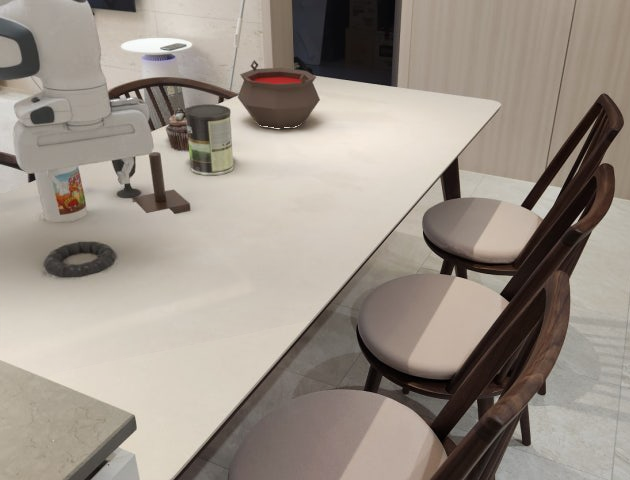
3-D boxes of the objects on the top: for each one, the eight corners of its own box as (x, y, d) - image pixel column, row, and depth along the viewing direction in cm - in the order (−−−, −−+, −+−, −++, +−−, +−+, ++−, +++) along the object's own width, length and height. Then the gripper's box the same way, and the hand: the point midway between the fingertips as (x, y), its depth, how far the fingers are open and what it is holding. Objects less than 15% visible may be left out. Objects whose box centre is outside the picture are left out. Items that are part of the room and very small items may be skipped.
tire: (55, 290, 102) (51, 275, 100) (39, 262, 110) (36, 248, 108) (125, 273, 108) (123, 258, 106) (106, 247, 115) (103, 233, 114)
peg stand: (147, 219, 127) (139, 164, 121) (132, 203, 133) (124, 150, 127) (190, 210, 131) (184, 156, 126) (174, 195, 138) (168, 144, 132)
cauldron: (336, 124, 190) (337, 67, 182) (275, 139, 175) (273, 79, 166) (283, 107, 204) (281, 54, 196) (222, 121, 188) (217, 63, 180)
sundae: (106, 193, 137) (94, 124, 130) (134, 185, 142) (123, 118, 134) (122, 202, 134) (111, 132, 126) (150, 193, 138) (141, 125, 131)
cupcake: (197, 138, 173) (193, 101, 168) (211, 148, 166) (207, 110, 161) (162, 143, 168) (157, 105, 163) (175, 153, 161) (170, 114, 156)
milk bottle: (45, 231, 120) (21, 126, 110) (45, 215, 126) (22, 115, 116) (89, 225, 123) (69, 123, 113) (87, 210, 129) (68, 112, 119)
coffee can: (189, 176, 148) (183, 116, 141) (191, 161, 157) (185, 104, 150) (234, 175, 150) (230, 115, 143) (233, 160, 159) (230, 103, 152)
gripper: (140, 91, 104) (151, 171, 111) (1, 106, 93) (23, 193, 100) (153, 99, 100) (164, 182, 107) (9, 116, 89) (32, 207, 96)
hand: (95, 188), depth 103 cm, fingers open, 8 cm apart
